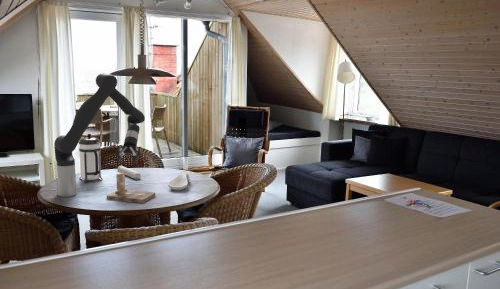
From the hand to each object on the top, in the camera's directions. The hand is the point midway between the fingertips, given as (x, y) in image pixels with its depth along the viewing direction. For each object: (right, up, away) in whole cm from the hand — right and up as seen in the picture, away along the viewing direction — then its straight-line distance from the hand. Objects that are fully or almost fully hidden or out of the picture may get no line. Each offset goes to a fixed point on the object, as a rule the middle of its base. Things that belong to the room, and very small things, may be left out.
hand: (126, 162), depth 242 cm
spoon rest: (+29, -16, +14) cm, 36 cm away
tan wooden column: (0, -17, -9) cm, 19 cm away
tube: (-9, -11, +36) cm, 39 cm away
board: (+6, -19, -11) cm, 23 cm away
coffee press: (-28, -13, +22) cm, 38 cm away
